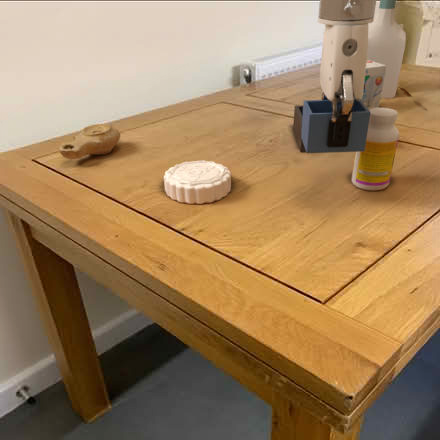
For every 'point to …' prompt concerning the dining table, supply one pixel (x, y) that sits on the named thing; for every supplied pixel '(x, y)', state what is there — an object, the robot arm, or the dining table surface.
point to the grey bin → (298, 127)
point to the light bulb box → (373, 84)
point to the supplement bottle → (377, 151)
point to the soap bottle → (387, 46)
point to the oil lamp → (91, 141)
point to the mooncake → (197, 182)
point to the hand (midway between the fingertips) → (332, 136)
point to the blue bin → (318, 127)
